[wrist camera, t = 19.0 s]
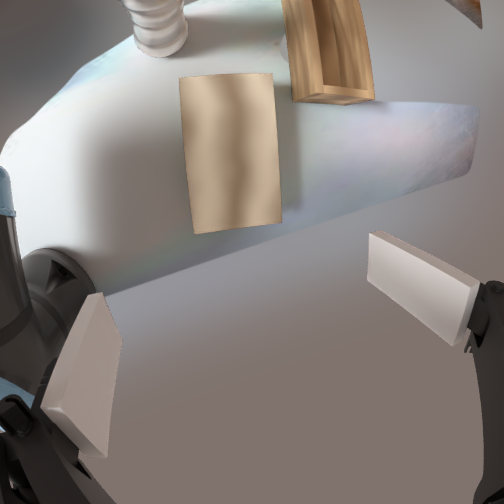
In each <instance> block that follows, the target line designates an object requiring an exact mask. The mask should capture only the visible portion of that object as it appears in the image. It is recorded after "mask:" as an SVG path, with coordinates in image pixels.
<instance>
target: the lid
mask: <svg viewBox="0 0 504 504" xmlns="http://www.w3.org/2000/svg"><path fill="white" fill-rule="evenodd" d="M179 90H180V105H181V119H182V131H183V143H184V154H185V164H186V173H187V182H188V191H189V199H190V207H191V215H192V223H193V230H194V234H201V233H208V232H215V231H222V230H230V229H237V228H244V227H252V226H260V225H267V224H275V223H282V210H281V189H280V171H279V155H278V140H277V125H276V112H275V99H274V87H273V76H272V74H268V73H246V74H220V75H205V76H194V77H185V78H179Z"/></svg>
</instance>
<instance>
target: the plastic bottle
mask: <svg viewBox="0 0 504 504" xmlns="http://www.w3.org/2000/svg"><path fill="white" fill-rule="evenodd" d="M118 2H119V3H120V4H121V5H122V6H123V8H124V9H125V10H126V11H127V12H128V14H129V16H130V18H131V19H132V21H133V26H134V40H135V44H136V45H137V47H138V48H139V49H140V50H141V51H142V52H143V53H145V54H146V55H148V56H151V57H166V56H169V55H172V54H173V53H175V52H177V51H178V50H179V49H180V48H181V47H182V46H183V44H184V43H185V41H186V39H187V36H188V32H189V28H188V23H187V20H186V18H185V16H184V11H183V6H184V0H118Z"/></svg>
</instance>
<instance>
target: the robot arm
mask: <svg viewBox="0 0 504 504" xmlns="http://www.w3.org/2000/svg"><path fill="white" fill-rule="evenodd" d="M15 217H16V211H15V210H14V207H13V200H12V192H11V181H10V177H9V174H8V172H7V171H6V170H5V169H4V168H3V167H1V166H0V429H1V430H3V431H5V432H4V433H0V504H116V503H115V502H114V501H113V499H112V498H111V497H110V496H109V495H108V494H107V493H106V492H105V490H104V489H103V488H102V487H101V486H100V484H99V483H98V482H97V481H96V479H95V478H94V477H93V475H92V474H91V473H90V472H89V470H88V469H87V468H86V466H85V465H84V463H83V462H82V461H81V460H80V459H79V458H78V453H79V450H80V451H81V452H82V453H84V454H85V455H86V456H87V457H88V458H107V453H108V439H109V428H110V418H111V410H112V401H113V395H114V387H115V381H116V375H117V369H118V363H119V357H120V352H121V347H122V342H123V340H122V338H121V336H120V334H119V331H118V329H117V327H116V324H115V322H114V320H113V317H112V315H111V313H110V310H109V308H108V305H107V303H106V300H105V298H104V295H103V292H100V293H96V291H95V288H94V286H93V284H92V282H91V280H90V278H89V277H88V275H87V274H86V272H85V271H84V270H83V269H82V267H81V266H80V265H79V264H78V263H77V262H75V261H74V260H73V259H72V258H70V257H69V256H67V255H65V254H63V253H61V252H59V251H56V250H52V249H38V250H35V251H33V252H31V253H29V254H28V255H26V256H25V257H24V258H23V259H22V260H21V256H20V250H19V245H18V239H17V232H16V223H15ZM367 280H368V281H369V282H370V283H372V284H373V285H375V286H376V287H377V288H378V289H380V290H381V291H382V292H384V293H385V294H387V295H388V296H389V297H390V298H392V299H393V300H394V301H395V302H397V303H398V304H399V305H401V306H402V307H403V308H405V309H406V310H407V311H408V312H410V313H411V314H412V315H414V316H415V317H416V318H418V319H419V320H420V321H421V322H422V323H424V324H425V325H426V326H427V327H429V328H430V329H431V330H432V331H434V332H435V333H436V334H438V335H439V336H440V337H441V338H442V339H444V340H445V341H446V342H447V343H449V344H450V345H451V346H454V345H456V344H457V343H459V342H460V341H461V340H462V339H463V337H464V334H465V332H466V329H467V328H469V329H470V330H471V333H470V336H469V338H468V341H467V344H466V346H465V349H464V352H465V353H466V352H467V349H468V347H469V346H471V349H470V353H473V357H474V362H475V367H476V372H477V379H478V385H479V392H480V400H481V408H482V419H483V437H484V470H483V477H482V480H481V481H480V483H479V485H478V487H477V489H476V492H475V494H474V499H473V504H504V283H502V282H499V281H488V282H487V283H486V284H485V285H484V284H483V283H481V282H480V281H478V280H476V279H474V278H473V277H471V276H469V275H467V274H466V273H464V272H462V271H460V270H458V269H456V268H454V267H453V266H451V265H449V264H447V263H445V262H443V261H441V260H439V259H438V258H436V257H434V256H432V255H429V254H428V253H426V252H424V251H422V250H420V249H418V248H416V247H414V246H412V245H410V244H408V243H406V242H404V241H402V240H400V239H397V238H395V237H393V236H391V235H389V234H387V233H385V232H383V231H381V230H380V231H375V232H371V233H369V256H368V275H367ZM9 480H10V481H11V482H12V483H13V489H12V488H11V486H10V481H9Z"/></svg>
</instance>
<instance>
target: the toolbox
mask: <svg viewBox="0 0 504 504" xmlns="http://www.w3.org/2000/svg"><path fill="white" fill-rule="evenodd" d="M281 1H282V8H283V16H284V23H285V31H286V39H287V48H288V56H289V67H290V77H291V87H292V99H293V102H305V103H324V104H337V105H349V104H354V103H359V102H364V101H370V100H375V93H374V84H373V76H372V68H371V61H370V55H369V48H368V42H367V36H366V31H365V26H364V21H363V17H362V12H361V8H360V3H359V0H281Z"/></svg>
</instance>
